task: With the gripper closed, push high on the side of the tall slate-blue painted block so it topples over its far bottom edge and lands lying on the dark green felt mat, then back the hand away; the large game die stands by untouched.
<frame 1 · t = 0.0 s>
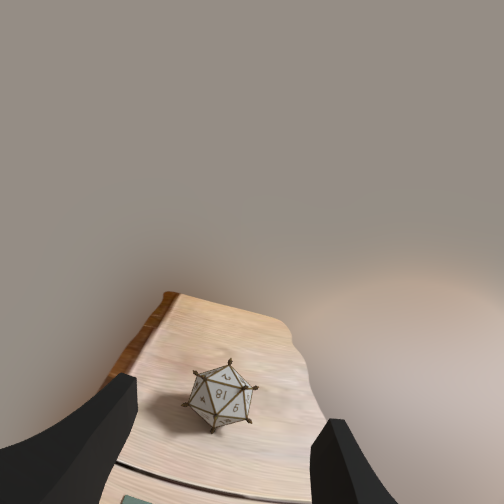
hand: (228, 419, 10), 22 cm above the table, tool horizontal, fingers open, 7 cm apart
game die: (216, 418, 35), on the table
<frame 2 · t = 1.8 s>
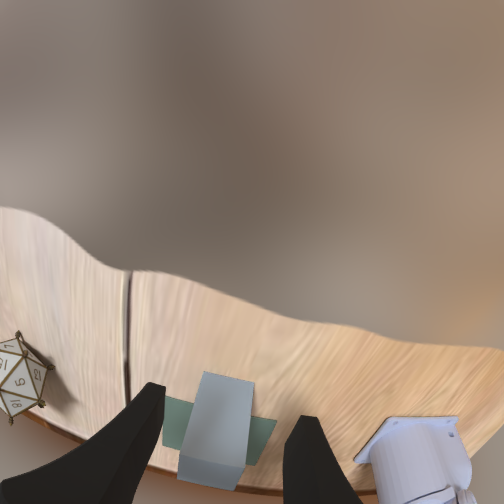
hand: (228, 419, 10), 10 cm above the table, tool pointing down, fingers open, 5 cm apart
slate-blue block: (224, 393, 23), on the table
game die: (34, 353, 25), on the table
felt mat: (213, 435, 26), on the table
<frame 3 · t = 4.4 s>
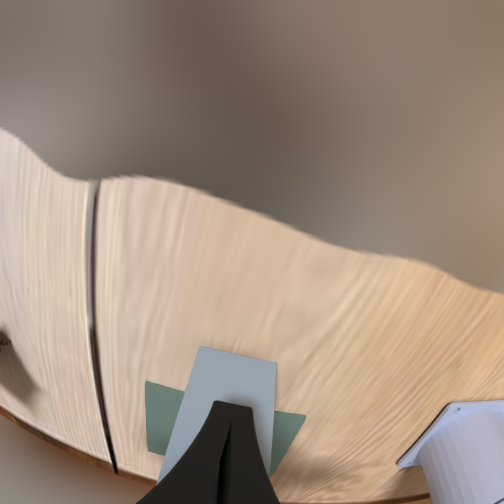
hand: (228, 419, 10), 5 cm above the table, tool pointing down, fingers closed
slate-blue block: (232, 378, 16), on the table, tilted 6°, touching gripper
felt mat: (216, 438, 19), on the table
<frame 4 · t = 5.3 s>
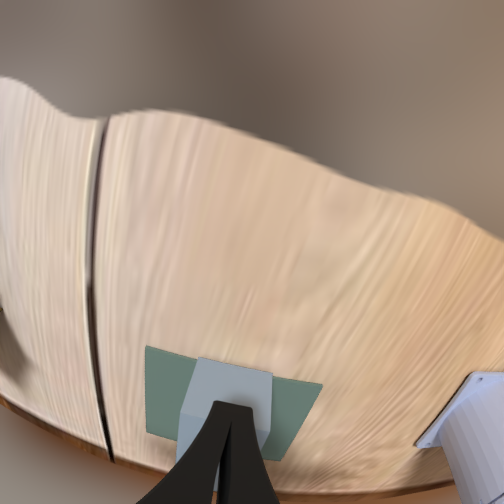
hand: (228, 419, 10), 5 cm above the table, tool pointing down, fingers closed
slate-blue block: (230, 392, 14), point 2 cm above the table, tilted 90°, touching felt mat
felt mat: (222, 415, 18), on the table
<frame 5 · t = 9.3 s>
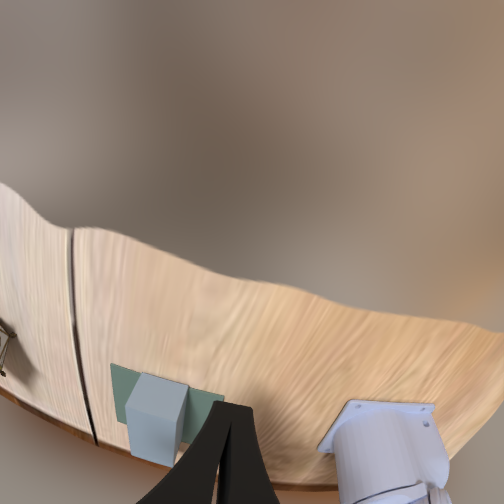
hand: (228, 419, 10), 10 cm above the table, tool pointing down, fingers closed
slate-blue block: (157, 395, 21), point 2 cm above the table, tilted 90°, touching felt mat
felt mat: (163, 411, 25), on the table
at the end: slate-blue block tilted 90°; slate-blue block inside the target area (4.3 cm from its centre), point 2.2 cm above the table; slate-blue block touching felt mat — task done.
